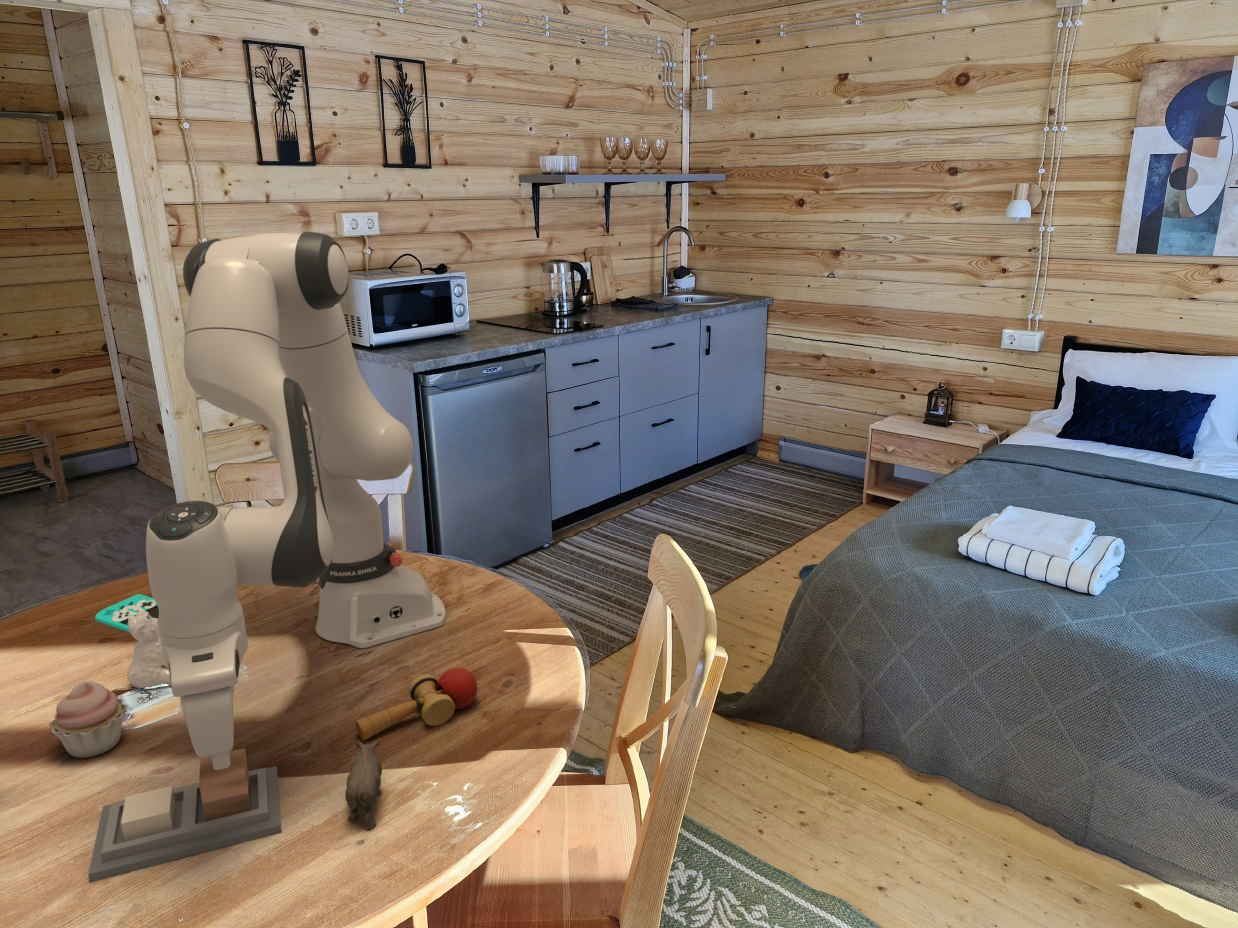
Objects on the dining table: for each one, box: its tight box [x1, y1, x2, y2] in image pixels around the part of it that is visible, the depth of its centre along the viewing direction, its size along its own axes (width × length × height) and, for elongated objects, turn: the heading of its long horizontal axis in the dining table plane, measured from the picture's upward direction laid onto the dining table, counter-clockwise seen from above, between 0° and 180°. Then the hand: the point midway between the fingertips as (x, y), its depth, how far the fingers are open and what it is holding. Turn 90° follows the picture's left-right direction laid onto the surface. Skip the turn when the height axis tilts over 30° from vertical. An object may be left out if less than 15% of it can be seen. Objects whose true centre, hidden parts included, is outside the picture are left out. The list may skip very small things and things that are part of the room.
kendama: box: [355, 667, 478, 741], centre depth 124 cm, size 8×6×18 cm
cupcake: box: [47, 680, 129, 759], centre depth 116 cm, size 9×9×10 cm
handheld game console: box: [94, 594, 159, 633], centre depth 154 cm, size 10×16×1 cm, turn 64°
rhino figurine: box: [344, 738, 383, 831], centre depth 108 cm, size 4×14×6 cm, turn 11°
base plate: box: [88, 765, 283, 882], centre depth 103 cm, size 20×12×4 cm, turn 113°
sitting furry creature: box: [126, 611, 171, 689], centre depth 132 cm, size 10×9×12 cm
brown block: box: [198, 747, 251, 822], centre depth 104 cm, size 5×5×6 cm
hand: (222, 741), depth 103 cm, fingers open, 8 cm apart
